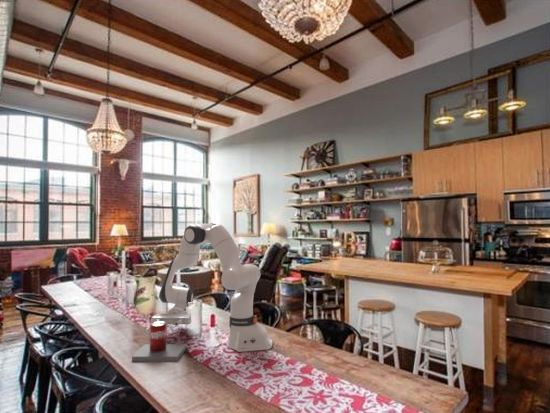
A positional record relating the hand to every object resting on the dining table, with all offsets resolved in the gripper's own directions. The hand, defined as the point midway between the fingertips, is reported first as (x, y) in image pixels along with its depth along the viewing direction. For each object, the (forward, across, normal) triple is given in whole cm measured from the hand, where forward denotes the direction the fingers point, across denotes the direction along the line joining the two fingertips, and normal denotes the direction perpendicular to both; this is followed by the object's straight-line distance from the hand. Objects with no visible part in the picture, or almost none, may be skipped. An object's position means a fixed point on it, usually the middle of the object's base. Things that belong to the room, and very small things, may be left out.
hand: (167, 324), depth 161 cm
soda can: (+12, 0, +8) cm, 15 cm away
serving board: (+12, +1, +10) cm, 16 cm away
